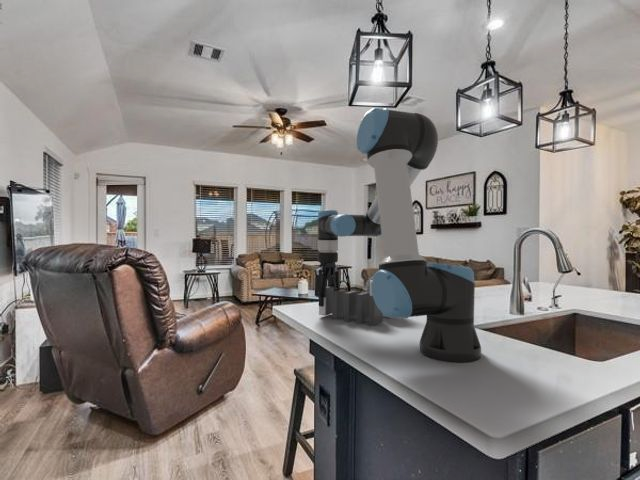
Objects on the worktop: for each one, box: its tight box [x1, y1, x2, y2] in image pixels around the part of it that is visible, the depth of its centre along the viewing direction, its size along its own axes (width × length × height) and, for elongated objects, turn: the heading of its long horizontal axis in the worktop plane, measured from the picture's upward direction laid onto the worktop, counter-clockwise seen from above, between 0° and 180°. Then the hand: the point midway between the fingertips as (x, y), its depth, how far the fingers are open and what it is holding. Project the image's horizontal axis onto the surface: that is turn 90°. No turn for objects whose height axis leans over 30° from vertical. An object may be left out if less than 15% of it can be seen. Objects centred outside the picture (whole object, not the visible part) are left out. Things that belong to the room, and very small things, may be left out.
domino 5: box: [368, 295, 384, 327], centre depth 125 cm, size 2×6×10 cm, turn 145°
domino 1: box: [325, 285, 334, 316], centre depth 137 cm, size 2×6×10 cm, turn 145°
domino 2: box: [331, 288, 347, 321], centre depth 134 cm, size 2×6×10 cm, turn 145°
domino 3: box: [343, 290, 359, 323], centre depth 131 cm, size 2×6×10 cm, turn 144°
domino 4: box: [355, 291, 370, 325], centre depth 128 cm, size 2×6×10 cm, turn 145°
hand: (327, 313), depth 137 cm, fingers closed on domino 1, 6 cm apart
